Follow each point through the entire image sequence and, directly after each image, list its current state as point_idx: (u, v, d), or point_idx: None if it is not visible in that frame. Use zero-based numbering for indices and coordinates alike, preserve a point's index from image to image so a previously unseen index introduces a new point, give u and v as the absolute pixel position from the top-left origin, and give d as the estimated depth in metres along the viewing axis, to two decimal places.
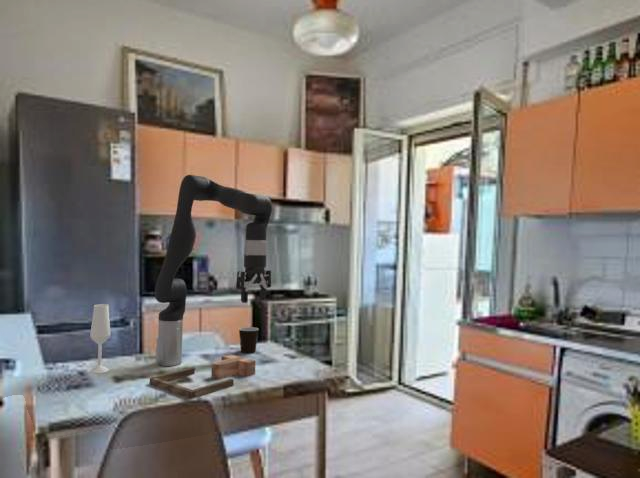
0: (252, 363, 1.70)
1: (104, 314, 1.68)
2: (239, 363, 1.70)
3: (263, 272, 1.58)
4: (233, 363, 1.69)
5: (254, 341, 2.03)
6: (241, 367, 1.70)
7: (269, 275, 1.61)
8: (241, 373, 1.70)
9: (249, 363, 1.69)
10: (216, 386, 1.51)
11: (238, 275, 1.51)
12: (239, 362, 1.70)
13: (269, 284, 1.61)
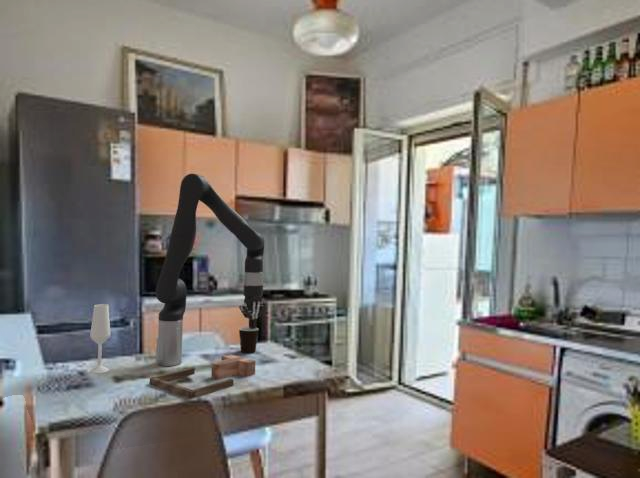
0: (252, 363, 1.70)
1: (104, 314, 1.68)
2: (239, 363, 1.70)
3: (260, 300, 1.81)
4: (233, 363, 1.69)
5: (254, 341, 2.03)
6: (241, 367, 1.70)
7: (263, 307, 1.82)
8: (241, 373, 1.70)
9: (249, 363, 1.69)
10: (216, 386, 1.51)
11: (241, 309, 1.75)
12: (239, 362, 1.70)
13: (259, 314, 1.80)
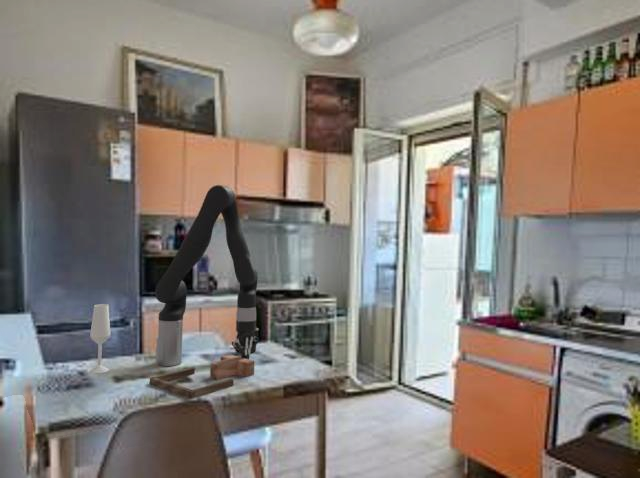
0: (251, 363, 1.69)
1: (104, 314, 1.68)
2: (238, 363, 1.70)
3: (253, 335, 1.79)
4: (232, 363, 1.68)
5: None
6: (240, 367, 1.69)
7: (256, 341, 1.80)
8: (240, 373, 1.69)
9: (248, 363, 1.68)
10: (216, 386, 1.51)
11: (233, 346, 1.72)
12: (238, 362, 1.70)
13: (252, 349, 1.78)
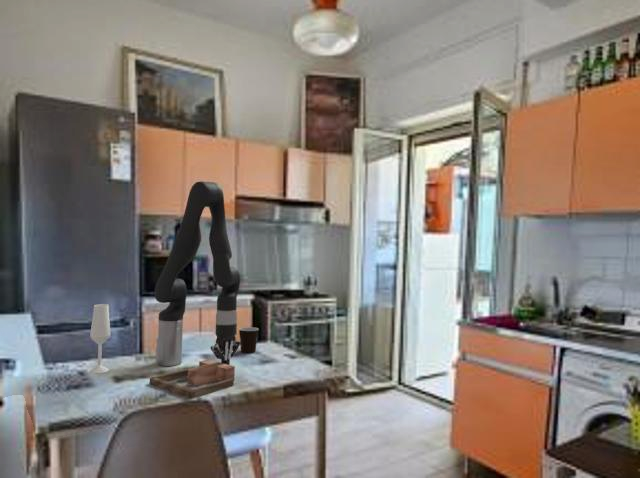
0: (231, 369, 1.61)
1: (104, 314, 1.68)
2: (217, 369, 1.61)
3: (234, 339, 1.70)
4: (211, 369, 1.60)
5: (254, 341, 2.03)
6: (219, 373, 1.61)
7: (237, 346, 1.71)
8: (219, 380, 1.61)
9: (228, 369, 1.60)
10: (216, 386, 1.51)
11: (212, 350, 1.64)
12: (217, 368, 1.61)
13: (232, 353, 1.70)
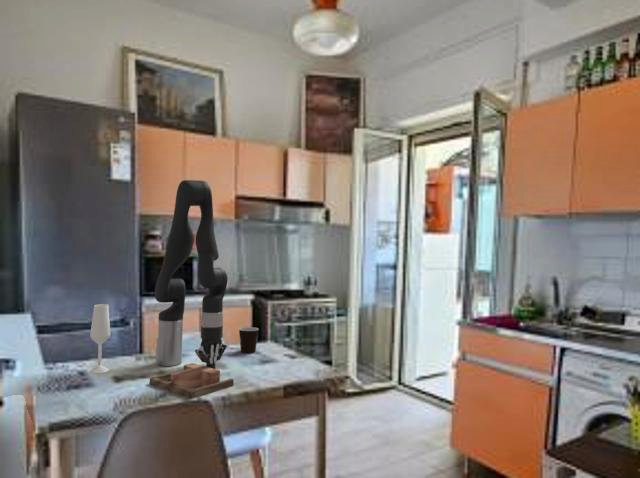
0: (216, 373, 1.56)
1: (104, 314, 1.68)
2: (202, 373, 1.56)
3: (220, 342, 1.65)
4: (195, 373, 1.55)
5: (254, 341, 2.03)
6: (204, 378, 1.55)
7: (223, 349, 1.66)
8: (204, 384, 1.55)
9: (212, 373, 1.54)
10: (216, 386, 1.51)
11: (197, 354, 1.59)
12: (202, 372, 1.56)
13: (218, 357, 1.64)
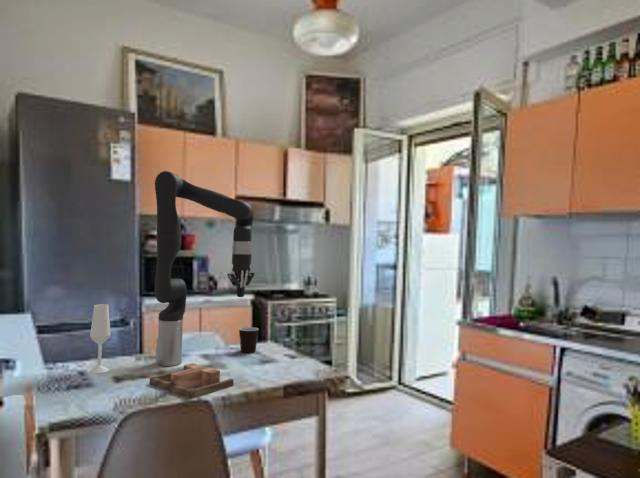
0: (216, 373, 1.56)
1: (104, 314, 1.68)
2: (202, 373, 1.56)
3: (249, 269, 1.84)
4: (195, 373, 1.55)
5: (254, 341, 2.03)
6: (204, 378, 1.55)
7: (251, 276, 1.85)
8: (204, 384, 1.55)
9: (212, 373, 1.54)
10: (216, 386, 1.51)
11: (229, 277, 1.78)
12: (202, 372, 1.56)
13: (247, 282, 1.83)
